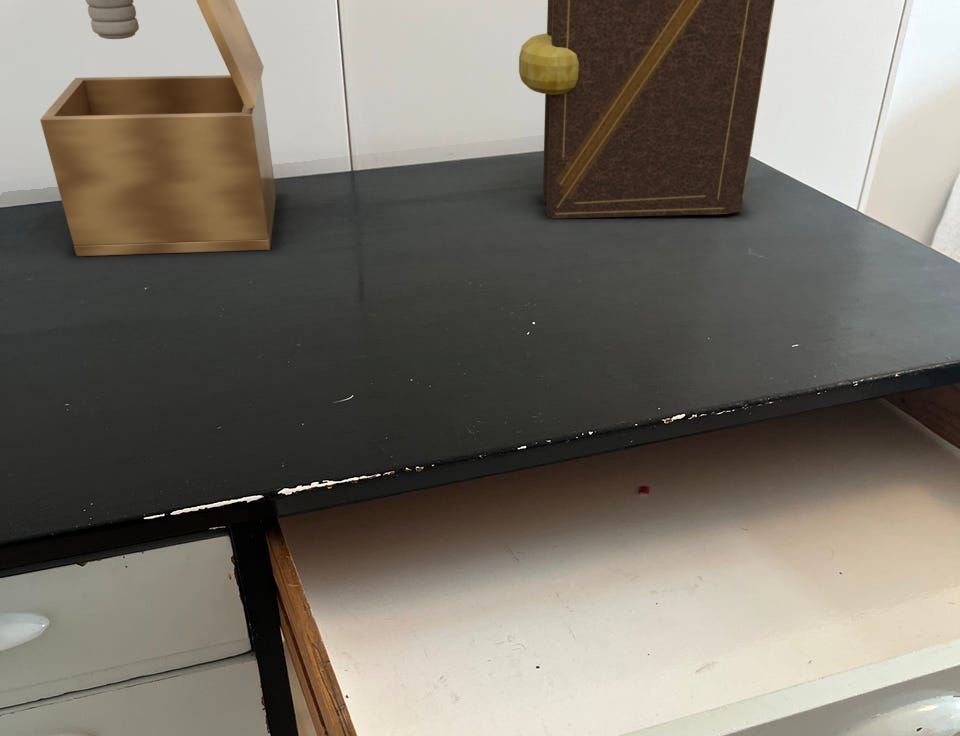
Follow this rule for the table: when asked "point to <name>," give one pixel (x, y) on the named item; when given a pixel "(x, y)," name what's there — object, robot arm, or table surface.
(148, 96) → the chest
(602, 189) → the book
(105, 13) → the light bulb
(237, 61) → the lid
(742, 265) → the table surface
